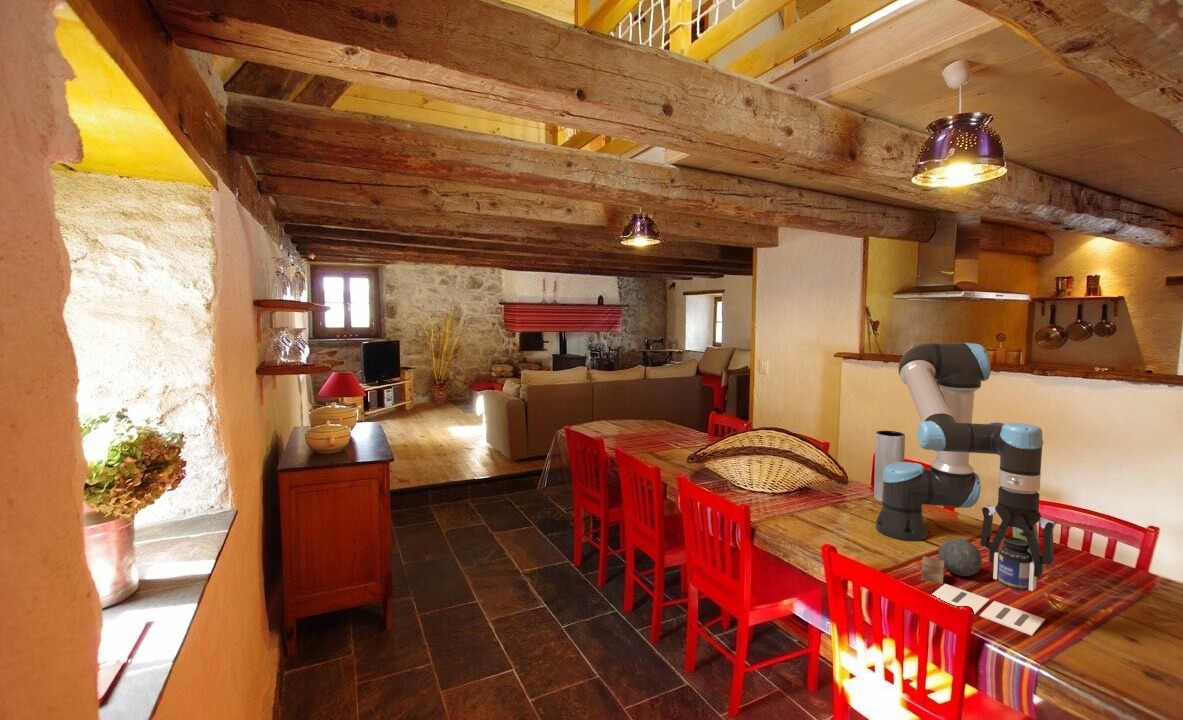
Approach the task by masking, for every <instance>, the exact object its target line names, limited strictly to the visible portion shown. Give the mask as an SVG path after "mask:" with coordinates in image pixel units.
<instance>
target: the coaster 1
mask: <svg viewBox="0 0 1183 720" xmlns="http://www.w3.org/2000/svg"><path fill="white" fill-rule="evenodd" d="M931 594H932V595H934V596H936V597H937V598H940V599H941V600H943V601H945V602H947V603H950V604H952V605H955V606H969V607H971V608H972V609H973V611H974V615H976V614H977V613H978V612H980V611H981V609H982V608H983V607H985V606H986V605H987V604H988V603H989V602H990V598H987V597H984V596H982V595H978V594H975V593H974V592H970V591H968V590H964V589H961V588H959V587H955V586H953V585H950V584H947V583H943V585H940V586H939V588H937V589H936V590H935V591H934V592H933V593H931ZM947 603H946V604H947ZM952 605H951V606H952ZM955 606H954V607H955Z"/></svg>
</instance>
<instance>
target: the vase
mask: <svg viewBox="0 0 1183 720" xmlns="http://www.w3.org/2000/svg"><path fill="white" fill-rule="evenodd" d="M905 442H906V434H905V433H903V432H900V431H895V430H877V431H876V432H875V447H874V448H875V452H874V454H875V456H874V479H873V480H874V483H873V485H874V486H873V487H874V489H873V498H874V499H875V500H876V501H878V502H880V503H882V497H883V480H882V478H883V472H884V468H885V467H886V466H887V465H889V464H892V463H898V462H905V445H906V444H905Z"/></svg>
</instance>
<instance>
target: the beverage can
mask: <svg viewBox="0 0 1183 720" xmlns="http://www.w3.org/2000/svg"><path fill="white" fill-rule="evenodd" d="M1033 527H1034V530H1035V535H1036V538H1037V541H1038V544H1039V547H1040V539H1039V534H1038V533H1039V532H1038V524H1037V523H1036V524H1034V525H1033ZM1011 533H1012V537H1014V538H1019V539H1022V540H1025V541H1027V539H1026V536H1025V534H1024V532H1023V530H1021V529H1019V528H1016V527H1011ZM1027 551H1028V552H1029V553H1030V554H1031V551H1030V548H1029V549H1028V550H1027ZM1031 555H1032V554H1031Z"/></svg>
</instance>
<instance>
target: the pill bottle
mask: <svg viewBox="0 0 1183 720" xmlns="http://www.w3.org/2000/svg"><path fill="white" fill-rule="evenodd" d="M1003 545H1004V546H1001V548H999V550H1000V551H999V571H998V579H997V580H998V583H999V584H1000V585H1002V586H1003V587H1006V588H1008V589H1011V590H1014V591H1018V592H1019V591H1020V592H1025V591H1030V590H1029V570H1030V562H1032V561H1033V557H1032V555H1031V554H1030V553H1029V552H1028V551H1027V550H1028V549H1029V545H1028V542H1027V541H1025V540H1022V539H1019V538H1014V537H1013V536H1004V537H1003Z"/></svg>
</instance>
